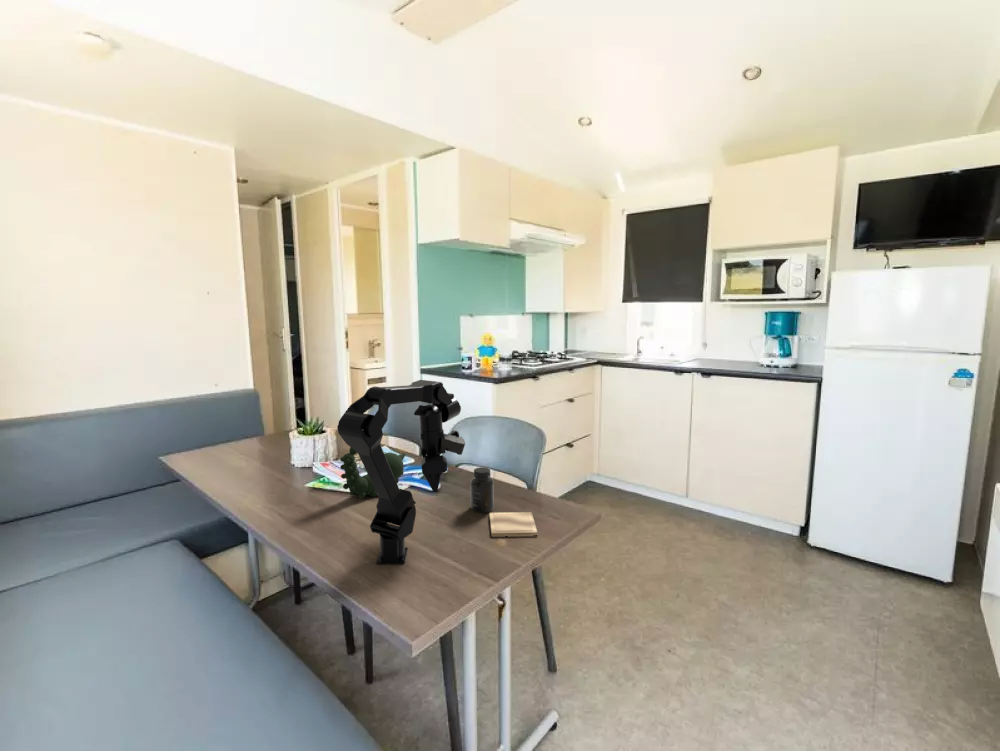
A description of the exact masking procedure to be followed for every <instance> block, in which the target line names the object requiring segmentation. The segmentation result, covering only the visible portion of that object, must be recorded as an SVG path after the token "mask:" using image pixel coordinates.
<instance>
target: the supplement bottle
mask: <svg viewBox="0 0 1000 751" xmlns="http://www.w3.org/2000/svg"><path fill="white" fill-rule="evenodd" d="M491 474H492V473H491V469H490V468H489V467H486V466H485V467H483V466H481V467H476V468H474V469H473V477H472V479H471V480H470V509H471V510H472V511H473V512H475V513H478V514H485V513H486V514H487V513H491V511H493V510H494V504H495V503H494V502H495V501H494V499H495V497H494V495H495V492H494V491H495V488H494V485H495V484H494V483H495V482H494V480H493V478H492V477H491Z"/></svg>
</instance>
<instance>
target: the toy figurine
mask: <svg viewBox="0 0 1000 751" xmlns="http://www.w3.org/2000/svg"><path fill="white" fill-rule="evenodd" d="M348 450H349V452H347V453H345V454H343V456H341V457H340V458H339V461H340V462H342V463H343V464H341V465H339V466H340V469H341V470H343V471H344V473H342V474H341V476H340V477H341V478H342V479H343V480H344V479H346V483H344V484H342V488H343V489H344V490H348V489H349V490H348V491H349V493H350V495H351V496H356V495H358V497H359V499H364V498H366V496H367V495H369V496H371V497H372V498H374V497H376V496H378V495H377V493H376V491H375V488H374V486H373V484H372V482H371V480H370V478H369V476H368V474H367V473H366V474H365V475H362V476H361V475H360V470H359V469H358V463H357V462H356V461H355V459H356V457H355V455H357V454H358V453H357V452H356V451H355V450H354V449H352V448H351V447H350V446H349V449H348ZM384 455H385V457H386V459H387V462H388V464H389V466H390V469H391V471H392V473H393V476H394V478H395V480H396V483H397V484H399V479H400V478H401V476H403V475H404V474H405V473H404V468H405V467H404V466H405V465H404V462H403V460H404V458H405V457H406V453H401V454H396V453H394V452H385V453H384Z"/></svg>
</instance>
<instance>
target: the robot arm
mask: <svg viewBox="0 0 1000 751" xmlns="http://www.w3.org/2000/svg"><path fill="white" fill-rule="evenodd" d="M406 403H408V404H409V403H423V404H424V403H425V404H427V405H422V404H419V405H418V407H417V408H416V410H415V411H414V413H413V415H414V416H418V417H419V429H420V430H419V431H420V440H419V443H420V445H419V447H420V454H421V456H422V460H421V462H420V463H421V474H422V475H423V476H424V478H425V480H426V481H427V483H428V485H429V486H430V488H431V490H432V492H433V493H436V492H439V486H440V482H441V477H442V476H441V475H443V474H445V473H447V471H448V462H447V458H446V457H445V456H444V455H442V454H446V451H447V452H450V453H453V454H457V455H459V456H461V455H462V454H463V452H464V449H465V446H466V441H465V439H464V438H463V437H462V436H460V433H459V431H458V430H455V429H453V430H452V431H451V432H449V433H445V432H444V431H445V430H444V429H443V423H446V422H448V421H450V420H452V419H454V418H456V417H457V416H459V415H460V413H461V410H462V406H461V403H460V402H459V401H458V400H457V399H456V398H455V394H454V393H449V392H448V391H447V389H446V388H445V386H444V383H443V382H442V381H436V380H435V381H434V380H426V379H419V380H418V379H417V380H416V381H413V382H411V384H409V385H395V386H393V385H392V386H375V385H374V386H372V387H369V388H368V389H367V390H366V392H365V393H364V395H363V396H361V397H360V398H358V399H357V400H355V401H354V402H353V403H351V404H350V405H349V406H348V408H347V409H345V411H344V413H343V415H342V416H341V417H340V418H339V421H338V424H337V433H338V435H339V436H340V438H341V439H342V440H343V441H344V442H345V444H346V445H348V446H349V448H350V447H351V448H352V449H354V450H355V451H356V452H357V453H356V454H357V455H358V456H359V458H360V461H361V463H362V465H363V467H364V468H365V471H366V475H367V474H368V476H369V478H370V480H371V482H372V484H373V486H374V488H375V491H376V493H377V495H376V496H377V497H378V501H377V503H376V510H377V511H376V513H375V515H374V517H373V519H372V521H371V523H370V524H369V527H370V531H371V533H374V534H379V553H378V556H377V559H376V564H377V565H393V564H394V565H395V564H397V565H398V564H403V565H404V564H405V563H406V560H407V555H408V551H409V547H405V546H406V544H405V542H406V541H405V539H406V537H408V536H410V535H411V534H412V533H413V532H414V531H413V530H414V525H415V521H416V515H417V509H416V504H417V501H415V500H414V498H413V494H412V492H411V490H406V489H403V488H399V485H398V483H396V480H395V478H394V476H393V473H392V471H391V469H390V466H389V464H388V462H387V459H386V457H385V455H384V451H383V448H382V446H381V445H382V444H381V443H382V440H383V436H384V432H383V429H384V428H385V425H386V424H387V422H388V421H389V420H388V418H389V409H390V407H391V406H392V405H399V404H406ZM374 406H377V407H378V409H377V411H376V412H375V414H371V413H370V414H369V413H366V412H367V411H369V410H370V409H372V408H373V407H374Z"/></svg>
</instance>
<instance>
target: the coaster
mask: <svg viewBox="0 0 1000 751" xmlns="http://www.w3.org/2000/svg"><path fill="white" fill-rule="evenodd" d="M535 522H536V521H535V520H534V516H533V513H532V512H530V511H527V512H526V511H525V512H524V511H522V512H517V511H516V512H515V511H514V512H510V511H509V512H489V524H490V532H491V533H490V534H491V538H494V537H495V538H496V537H498V538H499V537H503V538H504V537H505V536H508V537H534V536H533V535H537V536H538V530H537V526H536V524H535ZM527 535H529V536H527Z"/></svg>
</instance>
